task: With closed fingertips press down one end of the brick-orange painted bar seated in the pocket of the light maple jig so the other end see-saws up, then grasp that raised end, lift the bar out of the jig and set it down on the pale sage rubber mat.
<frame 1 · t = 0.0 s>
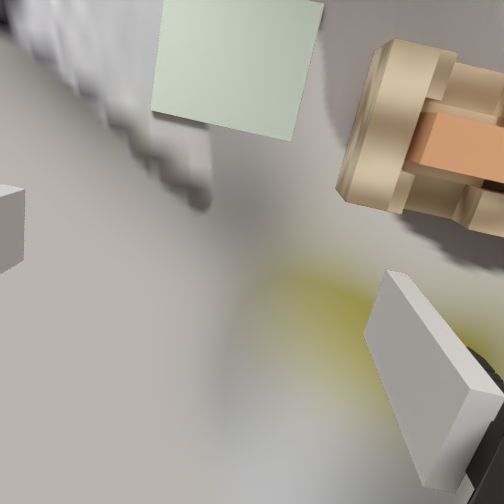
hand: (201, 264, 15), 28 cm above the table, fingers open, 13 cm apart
jig: (468, 149, 39), on the table
bar: (489, 153, 36), point 4 cm above the table, touching jig
mat: (233, 60, 38), on the table
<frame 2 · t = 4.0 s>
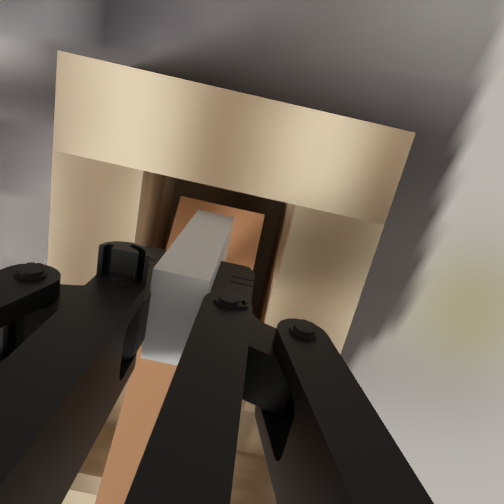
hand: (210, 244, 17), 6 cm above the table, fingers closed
jig: (204, 319, 25), on the table
bar: (191, 359, 21), point 4 cm above the table, tilted 36°, touching jig
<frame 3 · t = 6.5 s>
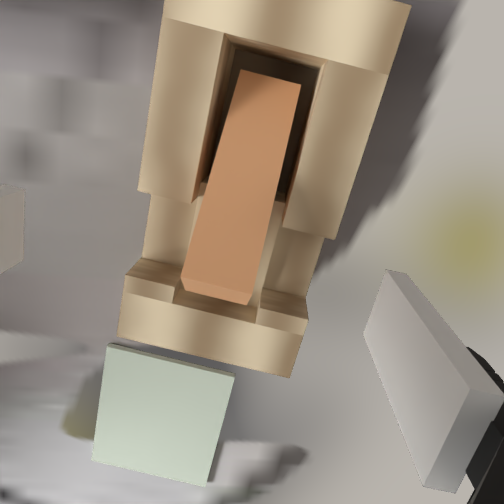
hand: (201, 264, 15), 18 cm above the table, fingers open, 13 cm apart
jig: (246, 189, 32), on the table
bar: (241, 199, 28), point 4 cm above the table, tilted 36°, touching jig
mat: (160, 416, 40), on the table
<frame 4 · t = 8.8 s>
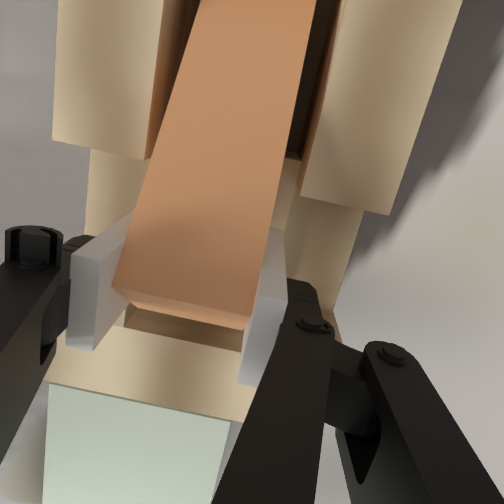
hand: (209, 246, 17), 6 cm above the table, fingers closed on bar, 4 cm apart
jig: (238, 149, 21), on the table
bar: (230, 156, 17), point 4 cm above the table, tilted 36°, touching gripper, jig
mat: (131, 474, 29), on the table
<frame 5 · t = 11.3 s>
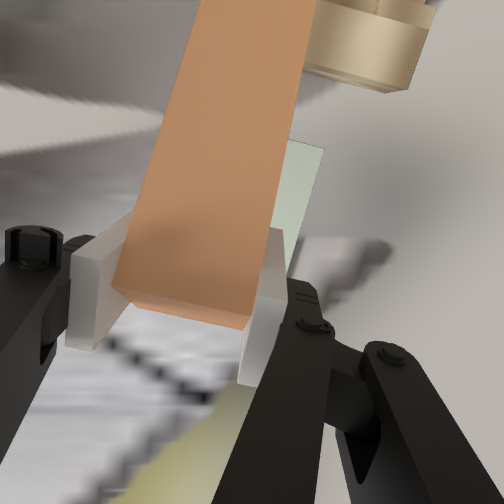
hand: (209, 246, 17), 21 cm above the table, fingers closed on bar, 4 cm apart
bar: (231, 156, 17), point 19 cm above the table, tilted 36°, touching gripper
mat: (238, 206, 38), on the table
when the fingers open (9 cm above the table, at t = 14.1 s): bar drops 7 cm, resting on mat.
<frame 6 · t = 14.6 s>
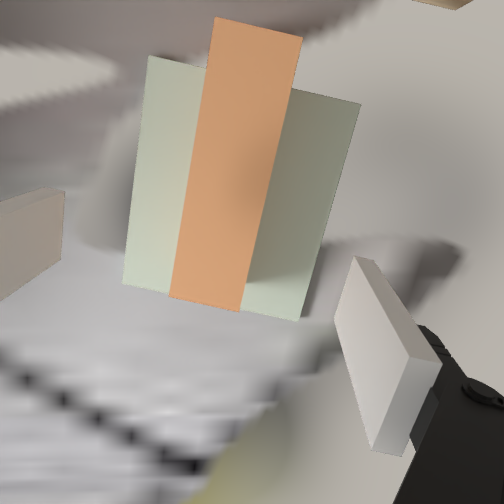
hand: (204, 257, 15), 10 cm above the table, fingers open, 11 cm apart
bar: (235, 170, 24), point 1 cm above the table, touching mat
mat: (231, 199, 25), on the table
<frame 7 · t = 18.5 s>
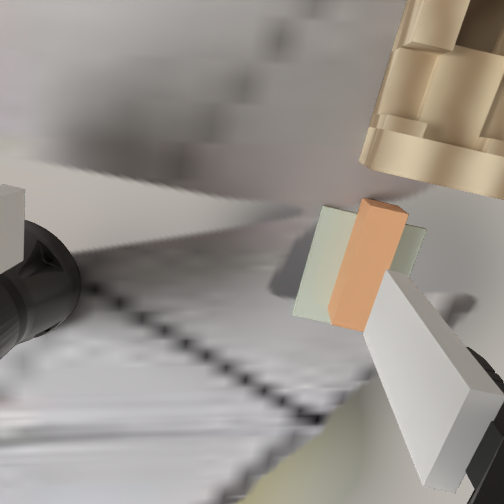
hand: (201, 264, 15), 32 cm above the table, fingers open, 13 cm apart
jig: (456, 61, 40), on the table
bar: (360, 259, 47), point 1 cm above the table, touching mat
mat: (355, 272, 48), on the table
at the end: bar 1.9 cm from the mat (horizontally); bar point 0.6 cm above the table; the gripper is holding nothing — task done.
